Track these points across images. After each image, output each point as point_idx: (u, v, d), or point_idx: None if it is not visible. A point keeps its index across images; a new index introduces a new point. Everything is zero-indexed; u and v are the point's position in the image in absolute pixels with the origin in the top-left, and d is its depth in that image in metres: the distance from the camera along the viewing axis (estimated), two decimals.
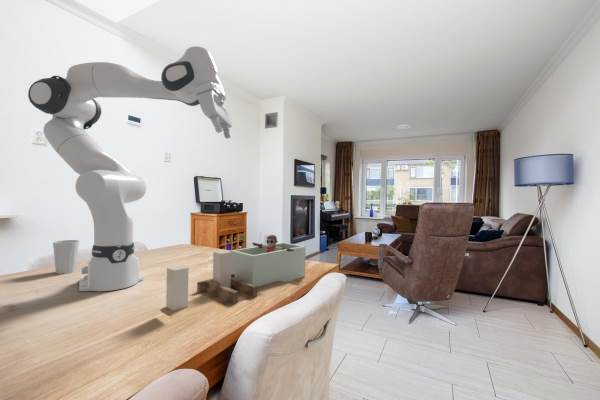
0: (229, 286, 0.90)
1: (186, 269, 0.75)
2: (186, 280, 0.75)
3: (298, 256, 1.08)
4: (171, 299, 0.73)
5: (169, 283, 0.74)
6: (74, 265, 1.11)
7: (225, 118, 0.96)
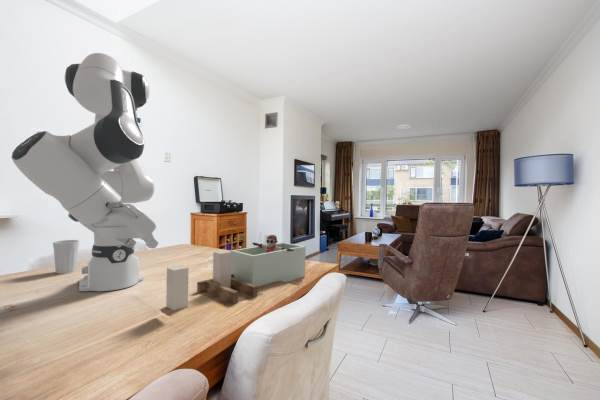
0: (229, 286, 0.90)
1: (186, 269, 0.75)
2: (186, 280, 0.75)
3: (298, 256, 1.08)
4: (171, 299, 0.73)
5: (169, 283, 0.74)
6: (74, 265, 1.11)
7: (123, 236, 0.62)
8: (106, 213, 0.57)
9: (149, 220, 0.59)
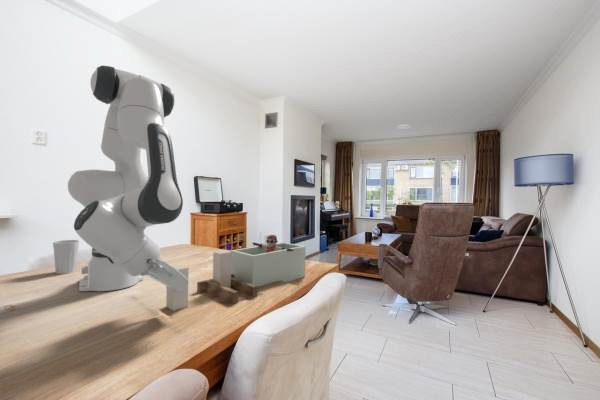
0: (229, 286, 0.90)
1: (186, 269, 0.75)
2: None
3: (298, 256, 1.08)
4: (171, 299, 0.73)
5: None
6: (74, 265, 1.11)
7: (162, 283, 0.71)
8: (147, 268, 0.66)
9: (182, 276, 0.66)
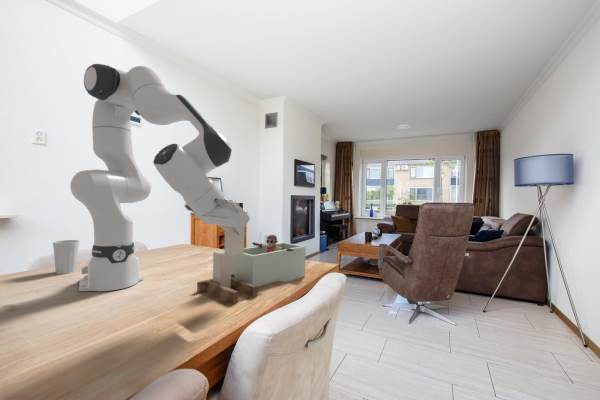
0: (229, 286, 0.90)
1: None
2: None
3: (298, 256, 1.08)
4: (230, 240, 0.81)
5: (228, 226, 0.81)
6: (74, 265, 1.11)
7: (224, 224, 0.78)
8: (214, 207, 0.73)
9: (245, 214, 0.73)
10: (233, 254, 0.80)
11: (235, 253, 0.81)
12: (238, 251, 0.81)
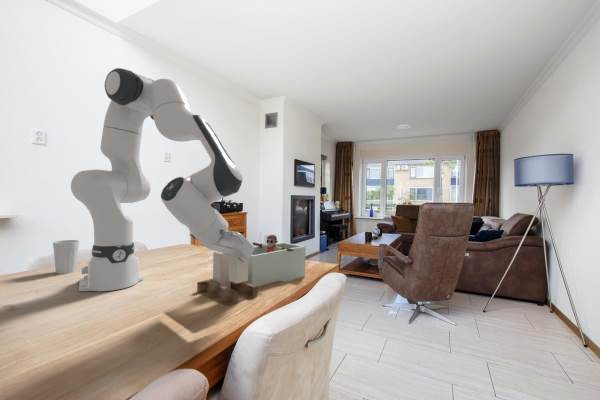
0: (229, 286, 0.90)
1: None
2: None
3: (298, 256, 1.08)
4: (235, 268, 0.82)
5: None
6: (74, 265, 1.11)
7: (228, 253, 0.79)
8: (219, 238, 0.74)
9: (250, 245, 0.75)
10: (237, 282, 0.81)
11: (239, 280, 0.82)
12: (242, 279, 0.83)
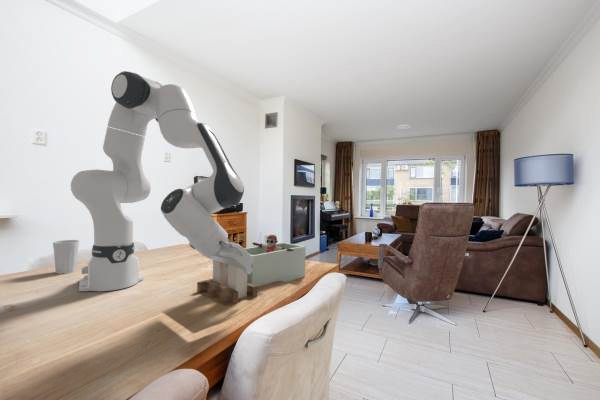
0: None
1: None
2: None
3: (298, 256, 1.08)
4: (234, 284, 0.82)
5: (231, 270, 0.83)
6: (74, 265, 1.11)
7: (228, 263, 0.79)
8: (219, 249, 0.74)
9: (249, 256, 0.75)
10: None
11: (238, 296, 0.82)
12: (241, 294, 0.83)
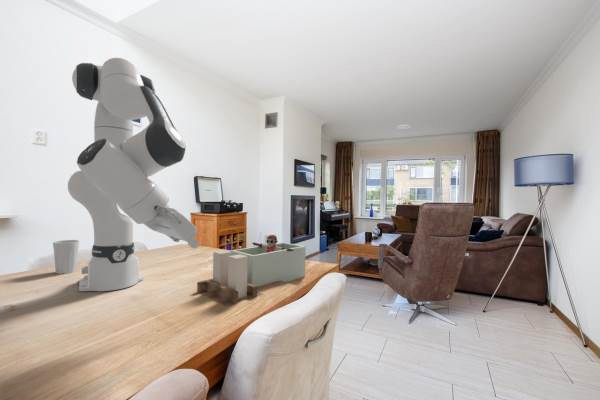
0: None
1: (246, 257, 0.84)
2: (246, 267, 0.84)
3: (298, 256, 1.08)
4: (234, 284, 0.82)
5: (231, 270, 0.83)
6: (74, 265, 1.11)
7: (169, 234, 0.67)
8: (154, 215, 0.62)
9: (191, 225, 0.62)
10: None
11: (238, 296, 0.82)
12: (241, 294, 0.83)
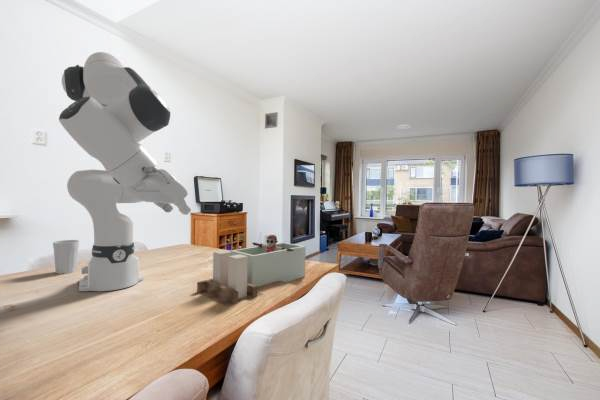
0: None
1: (246, 257, 0.84)
2: (246, 267, 0.84)
3: (298, 256, 1.08)
4: (234, 284, 0.82)
5: (231, 270, 0.83)
6: (74, 265, 1.11)
7: (159, 200, 0.65)
8: (142, 177, 0.60)
9: (180, 186, 0.60)
10: None
11: (238, 296, 0.82)
12: (241, 294, 0.83)
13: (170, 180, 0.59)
